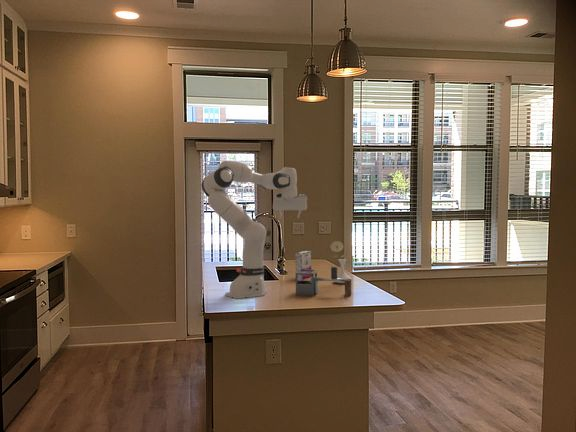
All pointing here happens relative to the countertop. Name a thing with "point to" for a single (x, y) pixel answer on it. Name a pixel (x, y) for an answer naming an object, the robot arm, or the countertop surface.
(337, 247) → the flower in vase
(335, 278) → the rod
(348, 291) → the rod cradle
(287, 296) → the countertop surface
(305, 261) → the candy bar box
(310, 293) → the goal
